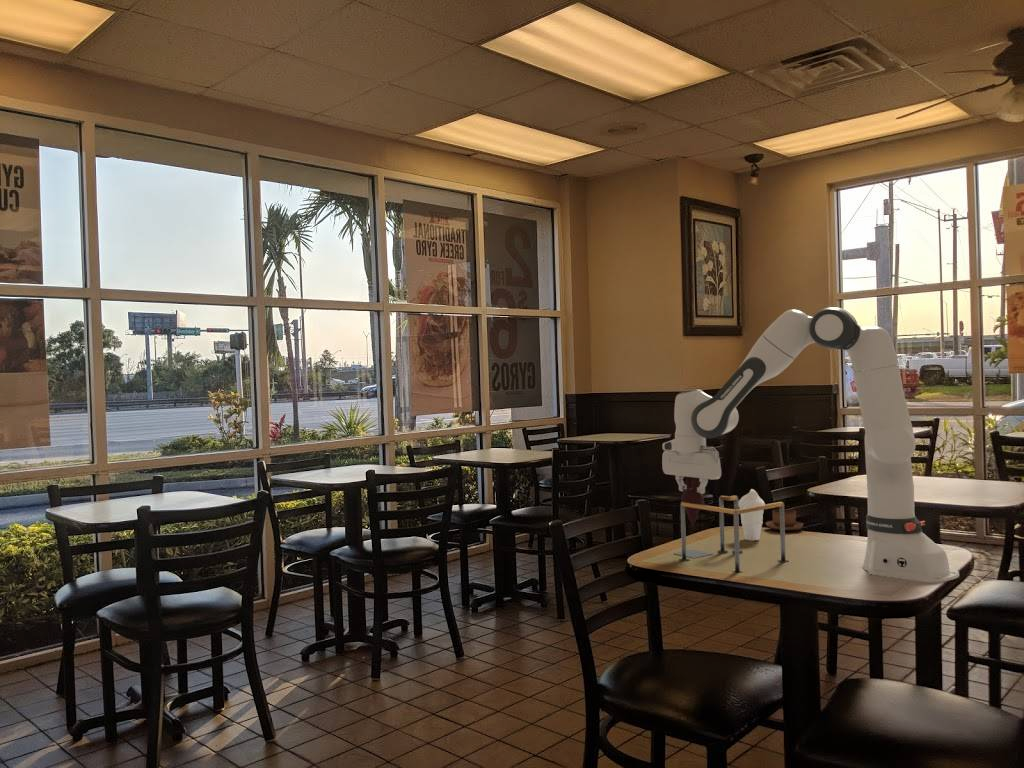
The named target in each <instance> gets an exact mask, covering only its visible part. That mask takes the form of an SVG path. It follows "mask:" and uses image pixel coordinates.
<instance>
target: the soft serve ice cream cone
mask: <svg viewBox="0 0 1024 768" xmlns="http://www.w3.org/2000/svg"><path fill="white" fill-rule="evenodd" d="M760 505H766V503H765V501H764V500H763V499H762V498H761V497H760V496H759V494H758V492H757V491H756V490H755V489H753V488H751V489H750V490H749V492H748V493H746V494H745V495H743V496H741V498H740V499H738V508H739V509H743V508H749V507H754V506H760ZM763 515H764V510H758V511H753V512H747V513H742V514H740V520H741V521H740V522H741V525H742V531H743V534H744V538H745V540H746V541H753V542H754V541H755V540H756V541H759V540H760V537H761V533H762V527H763V523H764V522H763V520H764V518H763V517H764V516H763Z"/></svg>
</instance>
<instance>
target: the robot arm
mask: <svg viewBox="0 0 1024 768" xmlns="http://www.w3.org/2000/svg"><path fill="white" fill-rule="evenodd" d="M811 344H817V345H818V346H820V347H823V348H825V349H827V350H843V351H846V353H848V356H849V358H850V363H851V366H852V367H851V369H852V372H853V373H852V374H853V378H854V383H855V388H856V389H855V390H856V395H857V401H858V404H859V405H858V406H859V409H860V413H861V419H862V423H863V427H864V432H865V433H864V453H865V455H864V456H865V471H866V472H865V473H866V487H867V488H866V489H867V491H866V493H867V514H866V515H865V517H866V518H865V528H866V532H867V539H866V541H867V543H866V548H865V550H866V551H865V554H864V555H865V556H864V560H863V563H862V568H863V569H864V570H865V571H867V573H868V575H870V574H872V575H871V576H877V575H879V576H878V577H884V576H886V578H891V577H894V578H893V579H899V578H901V579H900V580H906V581H907V580H908V581H913V582H914V581H915V582H922V583H927V584H928V583H930V584H931V583H932V584H933V583H936V584H937V583H942V582H944V583H945V582H949V581H953V580H955V579H958V578H960V571H958V570H954V569H950V563H949V558H948V555H947V553H946V551H945V550H944V548H942V547H941V546H939V545H938V544H937V543H935V542H934V540H932V539H931V538H930V537H929V536H927V535H926V534H925V533H924V532H923V529H922V526H925V525H926V523H925V522H926V520H921V521H920V520H919V519H918V518H917V517H916V515H915V484H914V478H913V477H914V476H913V468H912V456H913V455H914V453H915V450H916V438H915V433H914V429H913V424H912V420H911V415H910V412H909V408H908V404H907V400H906V397H905V392H904V386H903V381H902V376H901V375H902V374H901V371H900V365H899V361H898V360H899V359H898V356H897V352H896V347H895V345H894V342H893V340H892V337H891V335H890V333H889V332H888V331H887V330H886V329H885V328H883V327H881V326H877V325H875V326H874V325H873V326H871V325H870V326H861V325H859V324H858V322H857V319H856V318H855V316H854V315H852V314H851V313H850V312H849V311H848V310H846V309H844V308H842V307H837V306H836V307H833V306H831V307H825V308H822V309H820V310H819V311H817V312H815V314H814V315H813V316H810V315H808V314H806V313H805V312H804V311H801V310H798V309H788V310H786V311H785V312H783V313H782V314H781V315H780V316H778V317H777V318H776V319H775V320H774V321H773V322H772V323H771V324H770V325H769V326H768V327H767V328H766V329H765V330H764V332H763V333H762V334H761V335H760V337H759V338H758V339H757V341H756V342H755V344H754V345H753V346H752V347H751V349H750V351H749V352H748V353H747V355H746V356H745V358H744V360H743V361H742V362H741V364H740V365H739V367H738V368H737V370H736V371H735V372H734V373H733V374H732V375H731V377H730V378H729V379H728V380H727V381H726V382H725V383H724V385H723V386H722V387H721V388H720V389H719V390H718V391H717V393H716V394H715V395H713V396H712V395H709V394H707V393H706V392H704V391H703V390H702V389H698V388H696V389H695V388H694V389H691V390H685V391H680V392H679V393H678V394H677V395H676V396H675V399H674V411H673V412H674V414H673V415H674V416H673V417H674V418H673V419H674V423H675V432H674V438H673V439H671V440H669V441H666V442H663V443H662V450H663V453H662V455H661V456H662V458H661V459H662V461H661V463H662V472H663V474H665V475H670V476H675V480H676V482H677V485H678V491H680V492H684V491H685V490H686V489H688V488H687V486H686V484H685V482H684V481H685V480H683V479H684V478H686V477H691V478H698V479H699V486H698V487H697V493H699V494H703V495H704V494H705V493H706V487H707V485H708V482H709V480H712V481H713V480H719V479H720V478H721V477H722V467H721V460H720V453H719V451H718V450H717V449H716V448H715V447H714V446H707V439H715V438H718V437H720V436H722V435H725V434H728V433H730V432H732V431H733V430H734V429H735V428H736V427H737V426H738V423H739V421H740V414H739V411H738V409H737V407H738V405H739V404H740V403H741V402H742V401H744V399H745V398H746V396H747V395H748V394H749V393H750V392H752V390H754V388H755V387H757V386H759V385H760V384H762V383H764V382H765V381H768V380H771V379H773V378H775V377H777V376H778V375H779V374H782V373H783V372H784V371H785V369H787V368H788V367H789V366H790V365H791V364H792V363H793V362H794V360H796V359H797V357H798V356H799V355H800V354H801V352H802V351H803V350H804V349H805V348H806V347H808V346H809V345H811Z"/></svg>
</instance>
